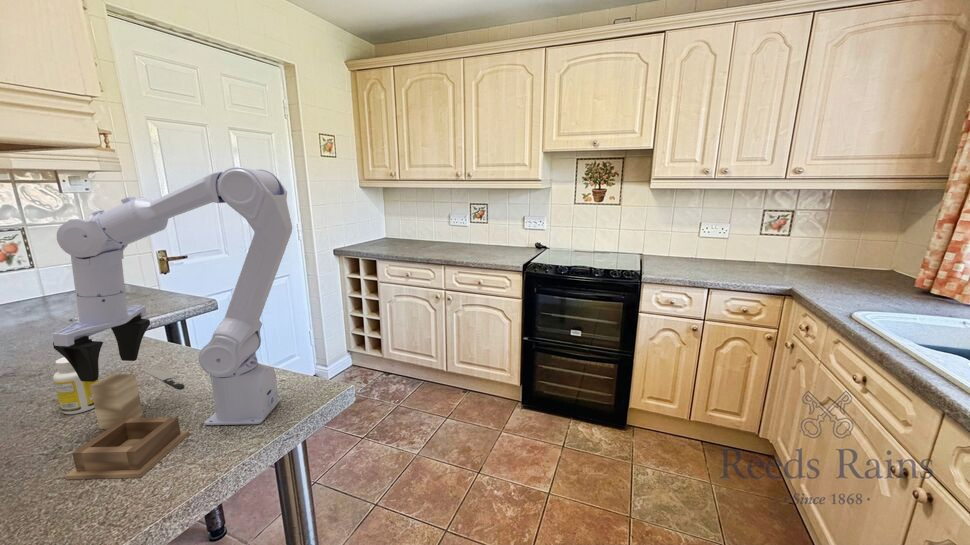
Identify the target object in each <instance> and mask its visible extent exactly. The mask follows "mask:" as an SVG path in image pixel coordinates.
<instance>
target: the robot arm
mask: <svg viewBox="0 0 970 545" xmlns="http://www.w3.org/2000/svg"><path fill="white" fill-rule="evenodd" d="M287 198H288V191H287V189H286V187H285V186H284V185H283V184H282V182H281V181H280V179H279V178H278V177H277V176H276V175H275V174H274V173H273V172H271V171H269V170H266V169H251V168H245V167H242V166H233V167H229V168H227V169H225V170H224V171H218V172H214V173H210V174H208V175H207V176H204V177H202V178H200V179H197V180H195V181H194V182H191V183H188V184H187V185H184V186H183V187H180V188H177V189H175V190H174V191H172V192H170V193H168V194H165V195H163V196H160V197H159V198H157V199H154V200H152V199H151V198H150V199H149V198H147V197H135V196H127V197H125V198H122V199H120V201H121V204H119V205H116V206H114V207H111V208H109V209H107V210H103V209H98V210H94V211H93V212H92V216H91V218H87V219H83V218H72V219H68V220H67V221H66V222H64V223H63V224H62V225H60V226H59V228H58V230H57V232H56V241H57V244H58V245H59V247H60V248H61V250H62V251H63V252H65V253H66V254H68V256H69V255H70V261H71V268H72V276H73V283H74V291H75V297H76V306H77V312H78V316H77V317H74V319H73V321H74V322H73V323H71V324H70V325H68V326H66V327H64V328H62V329H60V330H58V331H56V332H54V333H52V338H53V342H52V345H53V349H54V350H55V351H56V352H58V353H59V354H60V355H61V356H62V357H65V358H66V359H67V360H68V361H69V363H70V364H71V365H72V367H73V368H74V370H75V372H76V373H77V375H78V377H79V379H80V380H81V381H87V382H94V381H96V380H98V381H99V374H100V372H99V370H100V368H99V359H100V352H101V349H102V347H103V344H104V342H103V341H102V340H101V341H100V340H99V341H98V340H93V339H92V338H90V337H91V336H93V335H96V334H98V333H99V334H100V333H102V332H103V331H107V330H110V329H111V331H112V332H113V335H114V338H115V340H116V342H117V343H116V344H117V348H118V353H119V358H120V359H121V361H122V362H123V361H125V362H126V361H127V362H134V361H136V360H137V359H138V356H139V352H140V347H141V343H142V341H143V338H144V336H145V333H146V331H147V330H148V328H149V327H150V326H151V321H150V320H151V319H148V318H144V317H147V308H146V305H137V304H135V305H131V306H128V305H127V303H128V302H127V296H126V288H125V275H124V268H123V267H124V266H123V259H124V251H125V249H126V248H127V247H128V245H130V244H132V243H135V242H137V241H139V240H142V239H145V238H147V237H149V236H151V235H154V234H157V233H159V232H161V231H164V230H165V229H166V228H167V226H168V222H169V219H171V218H174V217H176V216H179V215H183V214H185V213H188V212H189V211H193V210H195V209H198V208H200V207H204V206H207V205H209V204H212V203H215V204H223V203H224V204H226V205H228V206H229V207H231V208H232V209H233V211H235V212H236V213H238V215H240V216H241V217H243V218H244V219H245V220H246V222H247V223H248V224H249V226H250V227H251V229H252V230H253V232H254V234H253V237H252V240H251V242H250V245H249V248H248V251H247V253H246V257H245V260H244V262H243V265H242V266H241V270H240V273H239V276H238V278H237V282H236V285H235V288H234V291H233V294H232V296H231V298H230V301H229V304H228V308H227V310H226V313H225V315H224V318H223V319H222V320H221V321H220V323H219V324H218V326H217V327H216V329H215V330H214V332H213V335H212V336H211V339H210V341H209V342H208V343H207V344H205V345H204V346H202V348H201V350H200V351H199V353H198V364H199V366H200V367H201V369H202V370H203V371H204V372H205V373H206V374H208V375H209V378H210V382H211V383H210V384H211V388H212V397H213V401H214V409H215V410H214V411H215V412H214V413H213V414H212V415H211V416H210V417H208V418H207V419H206V420H205V421H204V425H205V426H222V425H224V426H227V425H230V426H231V425H235V426H236V425H259V424H262V423H263V421H264V420H265V419H266V418H267V417H268V415H269V414H270V413H272V411H273V410H274V408H275V407H276V406H277V405H278V404H279V403H280V402H281V398H280V397H279V395H278V385H277V376H276V375H277V374H276V371H275V369H274V367H272V366H270V365H269V366H267V365H263V364H262V363H259V362H258V358H257V353H256V352H257V351H258V350H259V349H260V348H261V344H262V336H261V328H262V325H263V323H262V322H261V320H260V319H261V317H262V314H263V311H264V309H265V307H266V303H267V301H268V298H269V295H270V292H271V289H272V286H273V284H274V281H275V278H276V276H277V272H278V270H279V268H280V265H281V263H282V260H283V256H284V254H285V251H286V248H287V245H288V243H289V241H290V238H291V235H292V232H293V224H292V220H291V214H290V210H289V206H288V199H287Z"/></svg>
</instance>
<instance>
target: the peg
mask: <svg viewBox="0 0 970 545" xmlns="http://www.w3.org/2000/svg"><path fill="white" fill-rule="evenodd" d="M136 375H137V374H135V373H131V374H129V373H128V374H127V373H125V374H124V373H121V374H120V373H119V374H115V373H114V374H109V375H108V376H105V377H104V378H102V379H100V380H98V382H96V383H94V384H92V385H90V389H91V393H92V398H93V402H94V407H95V408H94V411H95V415H96V420H97V423H98V428H99V430H102V429H103V430H104V429H105V430H107V429H109V428H110V427H111V426H113V425H114V424H116V423H117V422H119V421H120V420H122V419H123V418H142V416H144V413H143V412H144V411H143V407H142V401H141V397H140V390H139V386H138V380H137V376H136Z"/></svg>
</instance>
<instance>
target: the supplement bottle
mask: <svg viewBox="0 0 970 545" xmlns="http://www.w3.org/2000/svg"><path fill="white" fill-rule="evenodd" d="M55 367H56V369H57V371H56V373H54V375H53V378H52V379H53V384H54V387H55V391H56V395H57V399H58V403H59V404H58V405H59V407H60V410H61V413H62V414H65V415H75V414H79V413H83V412H88V411H91V410H93V409H95V407H94V402H93V398H92V393H91V389H90V385H92V384H94V383H96V382H98V381H99V379H98V380H96V381H94V382H87V381H81V380H80V379H79V377H78V375H77V373H76V372H75V370H74V368H73V367H72V365H71V364H70V363H69V361H68V360H67V359H66V358H65V357H64V356H62V357H61V358H58V359H56V360H55Z"/></svg>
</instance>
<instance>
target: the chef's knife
mask: <svg viewBox="0 0 970 545" xmlns="http://www.w3.org/2000/svg"><path fill="white" fill-rule="evenodd" d="M159 370H160V369H154V370H153V369H152V368H151V369H149V368H148V369H147V368H146V369H145V368H144V369H141V371H142V372H143V373H146V374H148V375H149V376H152V377H153V378H155V379H157V380H159V381H161V382H163V383H166V384H167V385H169V386H171V387H174V388H175V389H178V390H182V389H184V387H185V384H183V383H178V382H177V381H174V380H173V379H175V378H177V377H178V374H173V373H170V372H168V371H165V370H160V371H159Z"/></svg>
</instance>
